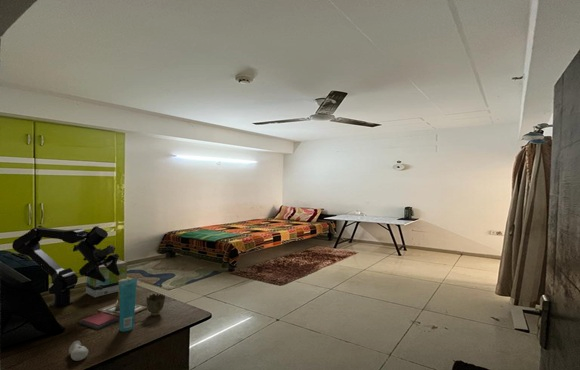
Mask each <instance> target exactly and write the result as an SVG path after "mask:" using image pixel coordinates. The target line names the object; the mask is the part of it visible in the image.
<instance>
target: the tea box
mask: <svg viewBox="0 0 580 370" xmlns="http://www.w3.org/2000/svg"><path fill="white" fill-rule="evenodd" d="M117 267H118V270H119V273H120V275H119V276H117V275H115V274H114V273H112V272H111V271H110V270H108V269H107V268H106V266H104V265H101V266H99V271H100V272H101V274H102V275H103V276H104V278H105V280H106V281H105V282H102V281H99V280H96V279H94V278H91V277H87V276H86V286H85V287H86V288H85V289H86V290H85V293H86V294H88V295H89V296H91V297H93V298H98V297H101V296H105V295H110V294H114V293H118V286H119V280H121V279H127V275H128V274H127V272H128V262H127V261H124V260H121V259H118V260H117Z"/></svg>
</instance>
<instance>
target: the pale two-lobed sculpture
mask: <svg viewBox="0 0 580 370" xmlns="http://www.w3.org/2000/svg"><path fill="white" fill-rule="evenodd" d="M68 353H69V355H70V358H71V359H72V360H73V361H76V362H77V361H83V360H84V359H86V357H87V356H88V355H89V349H88V348H87V347H86V346H84V345H82V343H81V341H80V340H75V341H73V342H72V344H70V346H69V348H68Z"/></svg>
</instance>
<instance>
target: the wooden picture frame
mask: <svg viewBox="0 0 580 370" xmlns="http://www.w3.org/2000/svg"><path fill="white" fill-rule="evenodd" d="M116 303H117V302H115V303H113V304H110V305H107V306H104V307H101V308H99V309H97V312H98V313H100V312H102V313H105V314H108V315H111V316H115V317H118V318H119V319H120V311H115V306H116ZM145 310H148V309H147V306H144V305H140V304H136V303H135V313H134V315H136V314H139V313H140V312H143V311H145Z"/></svg>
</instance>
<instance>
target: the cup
mask: <svg viewBox="0 0 580 370" xmlns="http://www.w3.org/2000/svg"><path fill="white" fill-rule="evenodd" d="M165 298H166V295H163V294H162V293H156V294H155V293H152V294H149V297H148V296H146V307H147V309H146V310H147V311H148V312H149V313H150V316H151V317H157V316H159V315H160V313H161V311H162V310H163V308H164V305H165V300H166V299H165Z"/></svg>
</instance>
